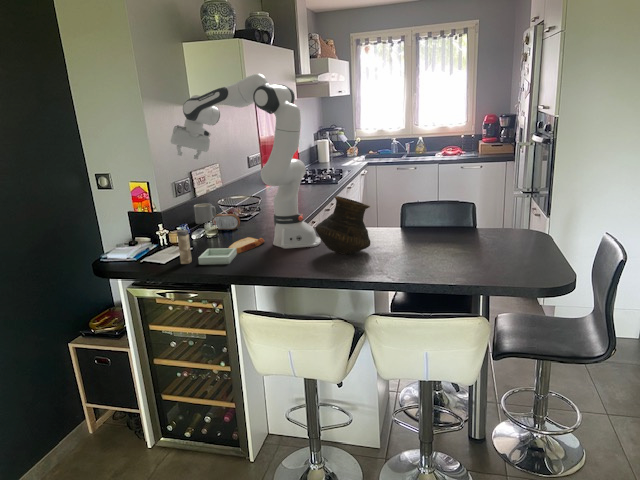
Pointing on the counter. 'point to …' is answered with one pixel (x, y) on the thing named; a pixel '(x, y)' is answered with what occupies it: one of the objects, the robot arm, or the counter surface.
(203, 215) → the coffee mug
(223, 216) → the tin
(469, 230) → the counter surface
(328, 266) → the counter surface
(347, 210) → the ceramic pot
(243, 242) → the slice of bread
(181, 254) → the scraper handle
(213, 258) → the box
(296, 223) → the robot arm
